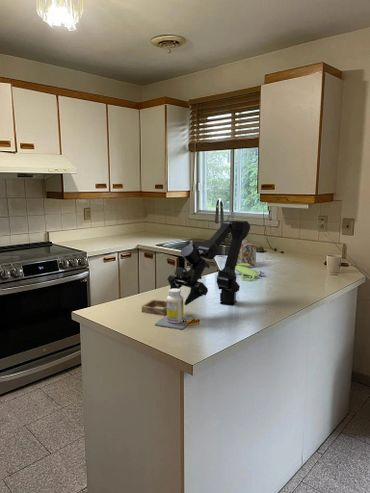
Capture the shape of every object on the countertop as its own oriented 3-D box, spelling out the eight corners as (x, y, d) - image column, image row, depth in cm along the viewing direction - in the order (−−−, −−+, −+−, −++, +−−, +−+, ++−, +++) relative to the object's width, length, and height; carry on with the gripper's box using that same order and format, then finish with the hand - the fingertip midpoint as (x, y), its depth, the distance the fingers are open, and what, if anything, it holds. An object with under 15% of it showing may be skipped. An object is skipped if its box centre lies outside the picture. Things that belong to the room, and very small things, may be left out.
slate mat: (194, 319, 154) (194, 318, 154) (182, 329, 143) (182, 328, 143) (167, 315, 158) (167, 314, 158) (154, 325, 147) (154, 324, 147)
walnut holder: (174, 307, 168) (174, 302, 168) (163, 315, 159) (163, 309, 158) (153, 304, 172) (152, 299, 172) (141, 312, 163) (141, 306, 162)
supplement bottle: (178, 316, 155) (178, 286, 153) (186, 321, 149) (186, 290, 147) (163, 319, 152) (163, 289, 150) (171, 325, 146) (171, 293, 144)
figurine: (243, 269, 243) (243, 261, 242) (271, 278, 220) (271, 269, 219) (219, 272, 234) (219, 264, 233) (246, 282, 211) (246, 273, 210)
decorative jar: (231, 265, 252) (231, 239, 249) (245, 264, 257) (246, 238, 254) (241, 269, 241) (241, 241, 238) (256, 267, 246) (257, 240, 243)
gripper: (170, 256, 157) (150, 287, 152) (203, 262, 144) (183, 296, 139) (183, 271, 164) (165, 301, 158) (216, 278, 151) (197, 311, 145)
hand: (176, 302), depth 150 cm, fingers open, 9 cm apart
